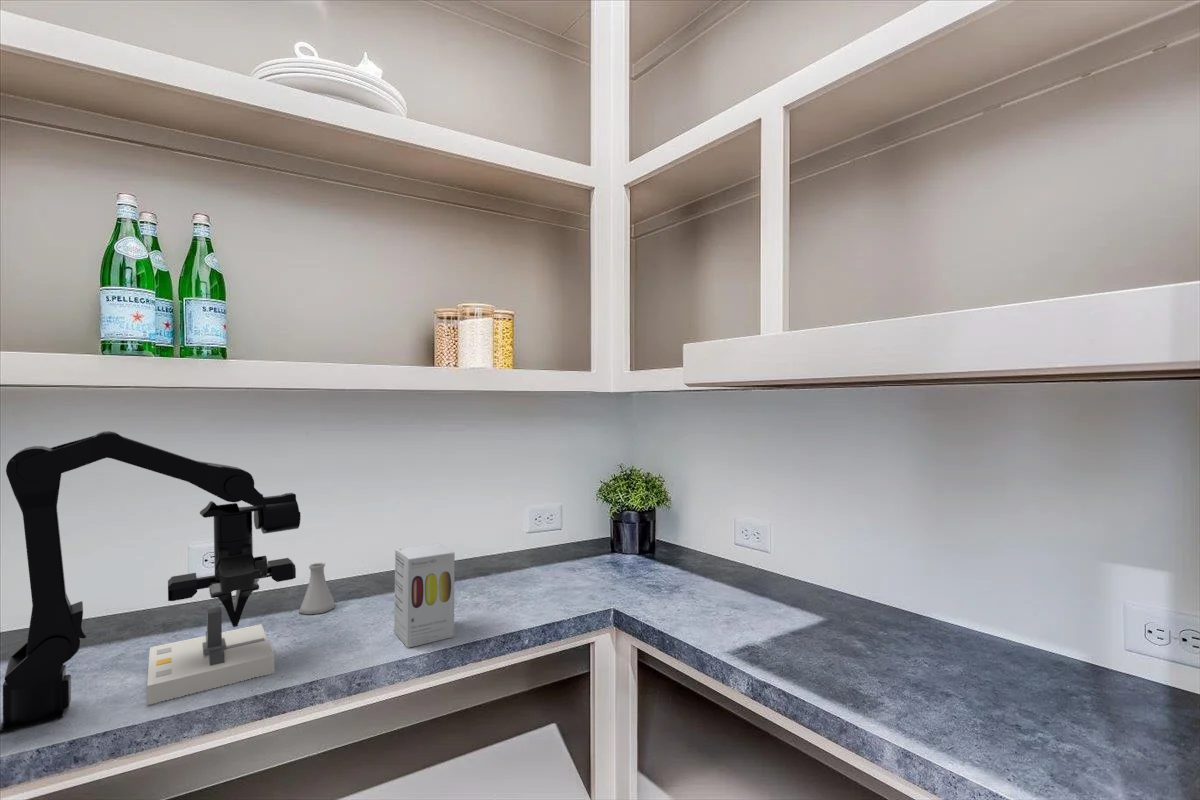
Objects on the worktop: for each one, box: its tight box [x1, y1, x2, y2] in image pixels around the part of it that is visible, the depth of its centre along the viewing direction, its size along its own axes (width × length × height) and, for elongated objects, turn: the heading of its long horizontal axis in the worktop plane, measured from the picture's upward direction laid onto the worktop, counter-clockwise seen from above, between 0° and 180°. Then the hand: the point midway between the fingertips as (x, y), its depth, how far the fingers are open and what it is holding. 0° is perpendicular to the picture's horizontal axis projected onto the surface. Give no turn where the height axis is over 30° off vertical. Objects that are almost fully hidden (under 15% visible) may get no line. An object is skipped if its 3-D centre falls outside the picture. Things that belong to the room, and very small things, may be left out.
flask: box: [298, 562, 336, 615], centre depth 126 cm, size 7×7×10 cm
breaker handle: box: [202, 606, 226, 655], centre depth 99 cm, size 3×4×7 cm
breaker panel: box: [146, 623, 275, 706], centre depth 98 cm, size 17×17×4 cm
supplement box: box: [393, 542, 456, 649], centre depth 113 cm, size 10×9×17 cm
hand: (235, 626), depth 101 cm, fingers closed
